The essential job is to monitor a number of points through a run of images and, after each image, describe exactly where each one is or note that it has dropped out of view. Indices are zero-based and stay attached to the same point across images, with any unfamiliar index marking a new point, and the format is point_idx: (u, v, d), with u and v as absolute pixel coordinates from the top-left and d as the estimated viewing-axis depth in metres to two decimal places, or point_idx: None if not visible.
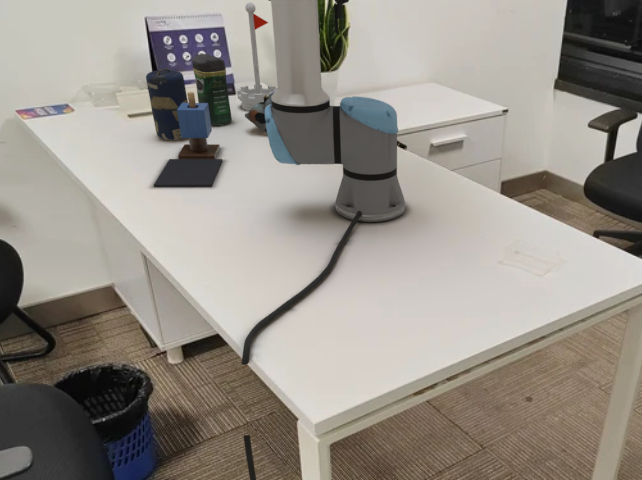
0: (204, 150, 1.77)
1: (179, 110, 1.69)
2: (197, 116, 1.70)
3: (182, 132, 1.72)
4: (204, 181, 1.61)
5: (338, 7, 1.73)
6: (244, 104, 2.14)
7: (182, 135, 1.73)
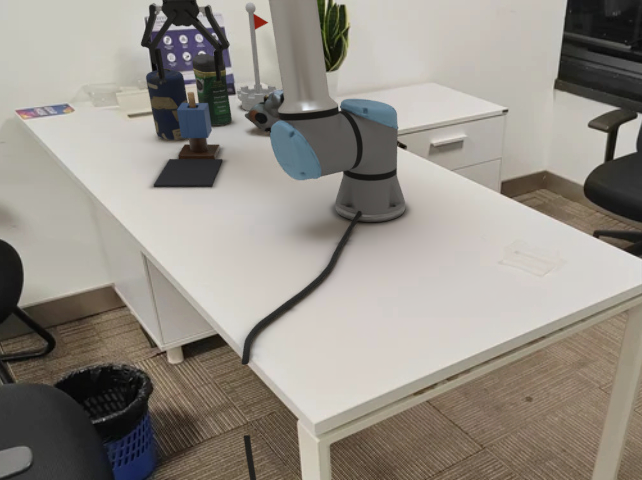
0: (204, 150, 1.77)
1: (179, 110, 1.69)
2: (197, 116, 1.70)
3: (182, 132, 1.72)
4: (204, 181, 1.61)
5: (218, 53, 1.66)
6: (244, 104, 2.14)
7: (182, 135, 1.73)
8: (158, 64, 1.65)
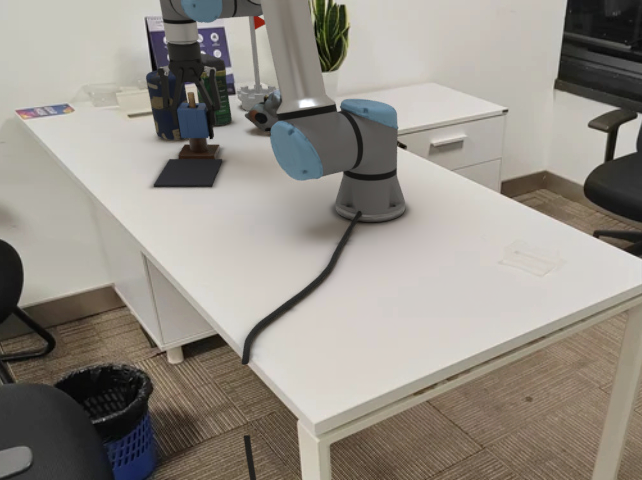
0: (204, 150, 1.77)
1: (179, 110, 1.69)
2: (197, 116, 1.70)
3: (182, 132, 1.72)
4: (204, 181, 1.61)
5: (210, 114, 1.73)
6: (244, 104, 2.14)
7: (182, 135, 1.73)
8: None
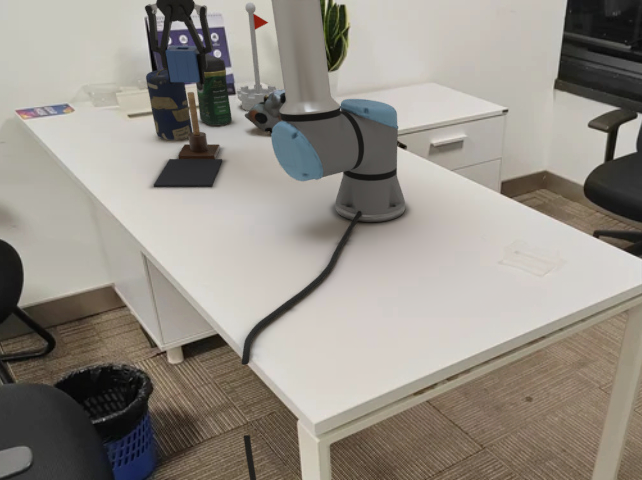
0: (204, 150, 1.77)
1: (168, 51, 1.60)
2: (187, 58, 1.61)
3: (171, 75, 1.63)
4: (204, 181, 1.61)
5: (201, 57, 1.64)
6: (244, 104, 2.14)
7: (171, 79, 1.63)
8: (168, 69, 1.64)
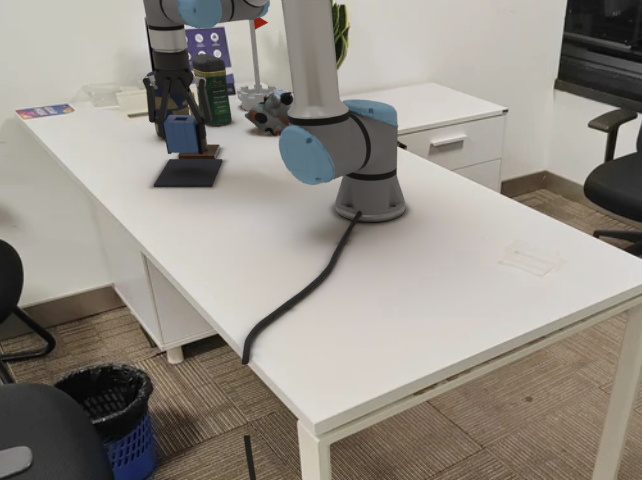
0: (204, 150, 1.77)
1: (166, 123, 1.57)
2: (186, 129, 1.58)
3: (169, 146, 1.60)
4: (204, 181, 1.61)
5: (200, 127, 1.61)
6: (244, 104, 2.14)
7: (169, 150, 1.60)
8: (166, 139, 1.61)
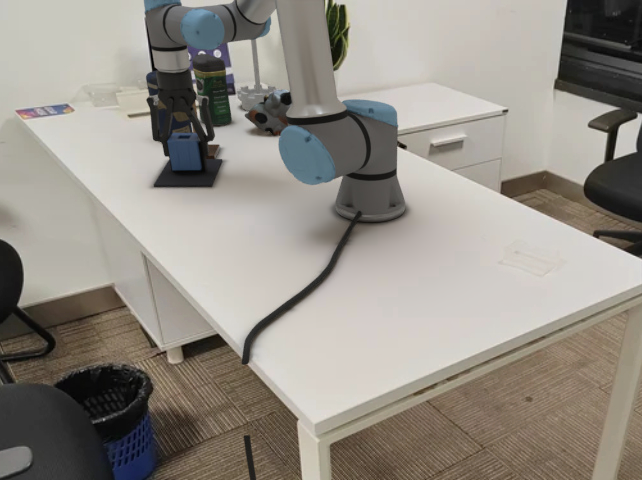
0: None
1: (170, 141, 1.59)
2: (189, 147, 1.60)
3: (173, 164, 1.62)
4: (204, 181, 1.61)
5: (203, 145, 1.63)
6: (244, 104, 2.14)
7: (173, 167, 1.62)
8: None
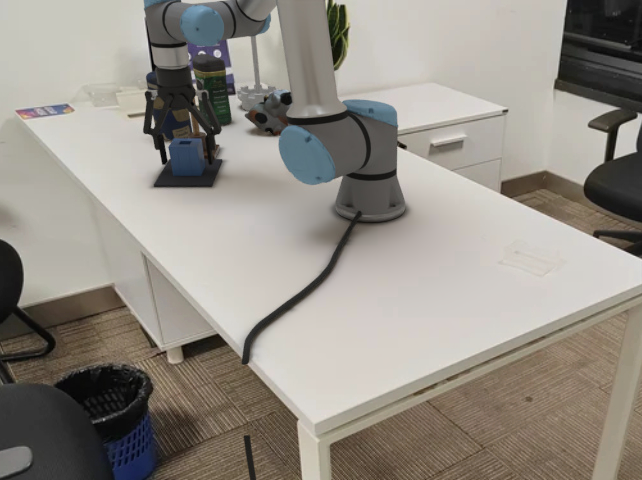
0: (204, 150, 1.77)
1: (171, 147, 1.60)
2: (190, 153, 1.61)
3: (174, 170, 1.63)
4: (204, 181, 1.61)
5: (210, 139, 1.62)
6: (244, 104, 2.14)
7: (174, 173, 1.63)
8: (161, 150, 1.62)
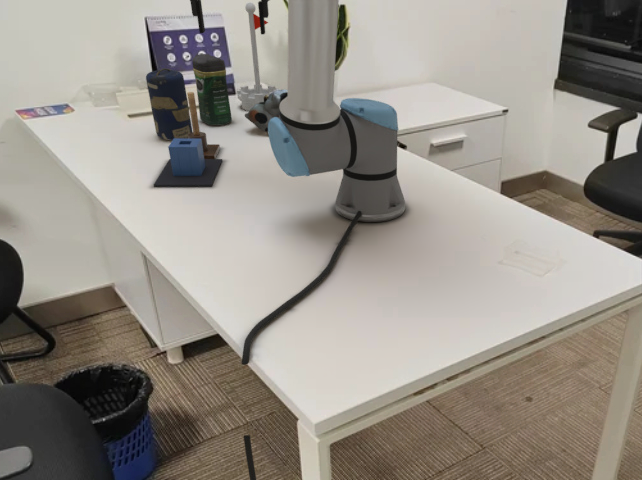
0: (204, 150, 1.77)
1: (171, 147, 1.60)
2: (190, 153, 1.61)
3: (174, 170, 1.63)
4: (204, 181, 1.61)
5: (263, 4, 1.54)
6: (244, 104, 2.14)
7: (174, 173, 1.63)
8: (199, 16, 1.53)
